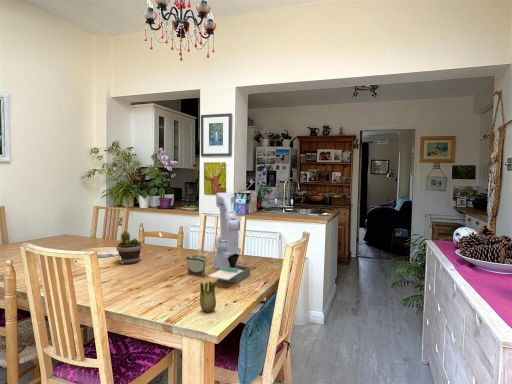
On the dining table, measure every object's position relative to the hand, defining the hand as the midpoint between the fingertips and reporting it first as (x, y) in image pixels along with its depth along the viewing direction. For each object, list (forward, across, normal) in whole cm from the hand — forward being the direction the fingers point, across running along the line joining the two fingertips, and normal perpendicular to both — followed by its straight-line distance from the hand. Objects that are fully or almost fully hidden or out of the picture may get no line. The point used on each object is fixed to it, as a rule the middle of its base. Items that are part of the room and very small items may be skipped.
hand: (232, 268), depth 169 cm
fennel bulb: (+6, -39, -10) cm, 41 cm away
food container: (+6, -2, +20) cm, 21 cm away
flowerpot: (+6, -2, +71) cm, 71 cm away
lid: (+1, -7, 0) cm, 7 cm away
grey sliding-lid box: (+6, +2, 0) cm, 6 cm away
